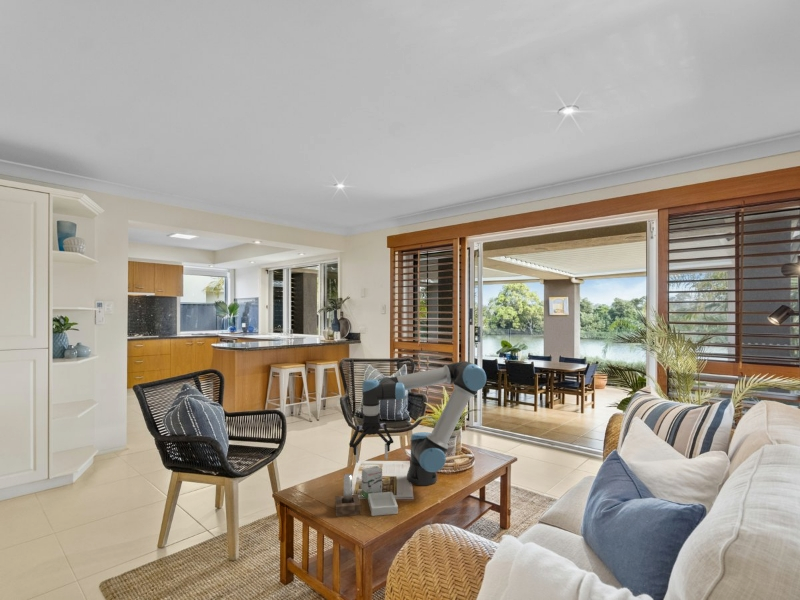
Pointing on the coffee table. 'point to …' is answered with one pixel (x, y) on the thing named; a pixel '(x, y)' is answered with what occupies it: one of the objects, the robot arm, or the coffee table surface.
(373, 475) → the ink box
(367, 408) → the robot arm
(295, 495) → the coffee table surface
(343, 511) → the hollow square tube
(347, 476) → the cylinder
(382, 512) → the tray
